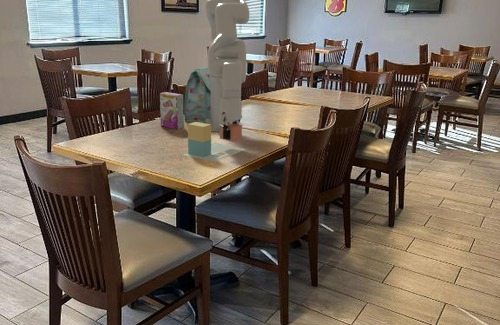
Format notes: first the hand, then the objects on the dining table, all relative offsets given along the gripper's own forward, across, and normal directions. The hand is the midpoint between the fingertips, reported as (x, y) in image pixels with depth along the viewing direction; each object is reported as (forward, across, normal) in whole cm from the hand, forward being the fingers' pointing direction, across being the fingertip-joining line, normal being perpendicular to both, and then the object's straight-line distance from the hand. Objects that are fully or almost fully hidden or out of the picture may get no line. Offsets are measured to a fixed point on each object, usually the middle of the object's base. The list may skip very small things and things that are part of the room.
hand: (230, 136), depth 189 cm
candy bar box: (+7, -14, -44) cm, 47 cm away
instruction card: (+5, +11, +2) cm, 12 cm away
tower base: (+5, +14, -5) cm, 16 cm away
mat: (+5, +8, -2) cm, 10 cm away
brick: (+1, 0, 0) cm, 1 cm away
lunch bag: (+8, -39, -43) cm, 59 cm away
